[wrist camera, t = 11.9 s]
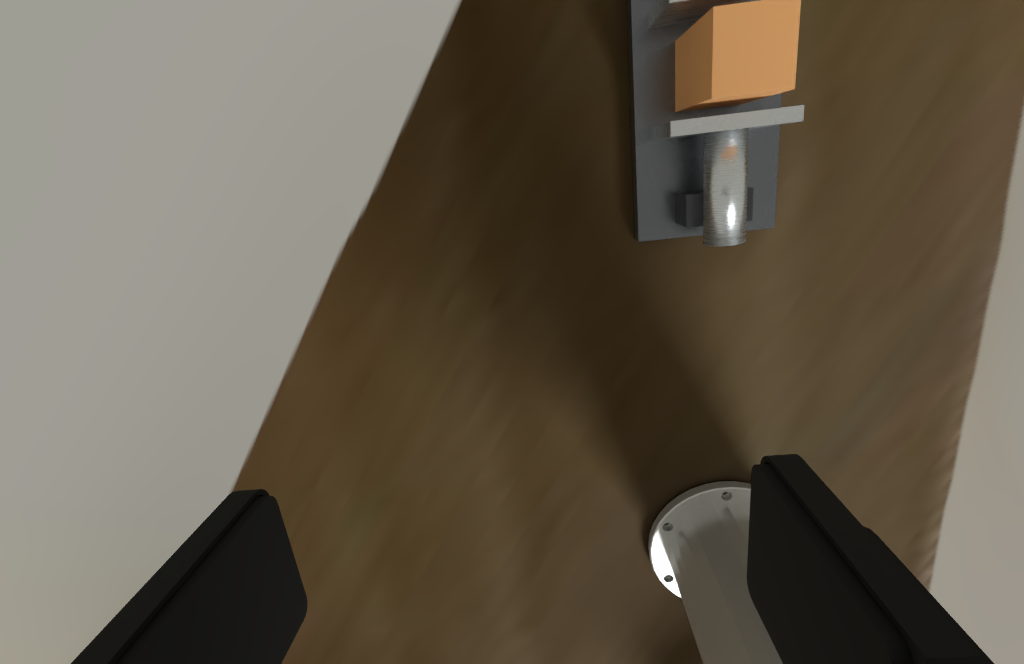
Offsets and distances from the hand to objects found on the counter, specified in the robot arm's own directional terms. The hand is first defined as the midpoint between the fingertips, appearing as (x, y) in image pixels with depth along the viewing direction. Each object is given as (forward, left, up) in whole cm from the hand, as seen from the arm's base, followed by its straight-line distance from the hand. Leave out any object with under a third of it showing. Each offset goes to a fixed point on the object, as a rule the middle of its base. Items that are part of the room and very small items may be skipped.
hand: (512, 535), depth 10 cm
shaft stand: (+11, -12, -28) cm, 33 cm away
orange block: (+11, -12, -27) cm, 31 cm away
